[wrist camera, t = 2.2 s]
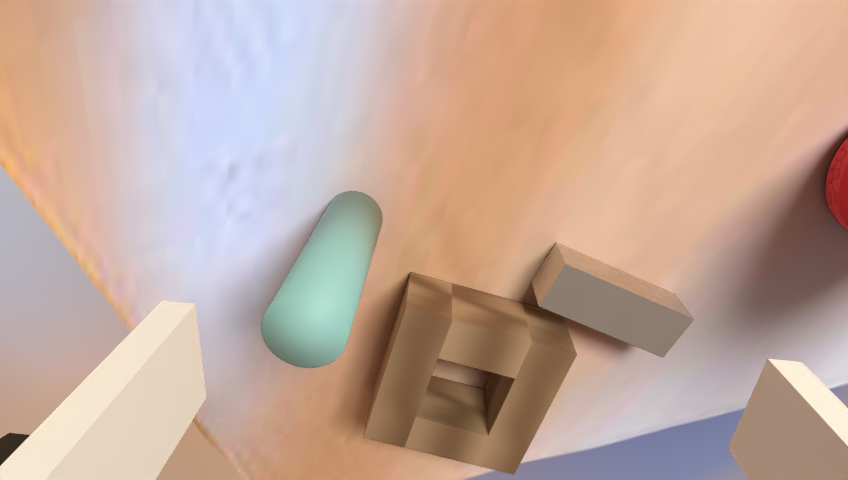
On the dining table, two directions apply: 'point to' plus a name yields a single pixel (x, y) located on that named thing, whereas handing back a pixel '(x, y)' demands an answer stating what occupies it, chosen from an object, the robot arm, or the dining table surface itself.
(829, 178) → the wine bottle
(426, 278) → the socket block
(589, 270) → the grey bar
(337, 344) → the peg
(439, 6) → the dining table surface
